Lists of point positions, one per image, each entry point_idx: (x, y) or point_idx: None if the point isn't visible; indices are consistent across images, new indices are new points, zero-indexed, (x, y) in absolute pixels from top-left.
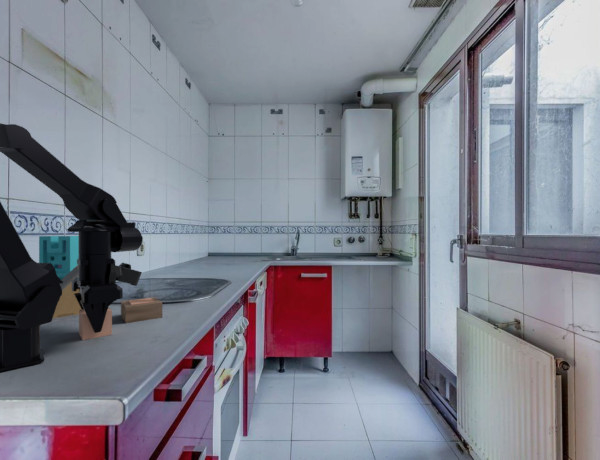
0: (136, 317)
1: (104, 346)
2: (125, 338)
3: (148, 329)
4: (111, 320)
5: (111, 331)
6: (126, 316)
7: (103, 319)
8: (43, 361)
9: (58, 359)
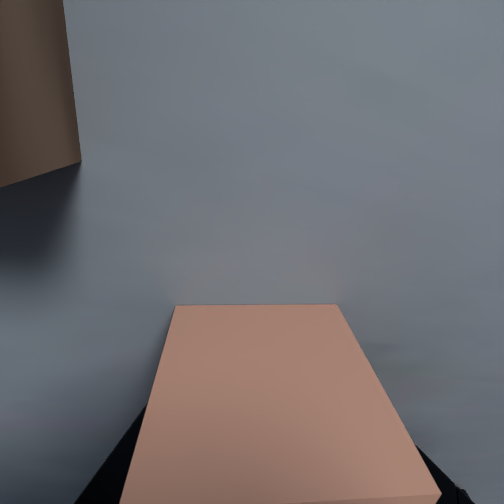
0: (37, 33)
1: (500, 358)
2: (489, 263)
3: (457, 56)
4: (380, 384)
5: (343, 319)
6: (42, 165)
7: (424, 459)
8: (464, 490)
9: (472, 462)
